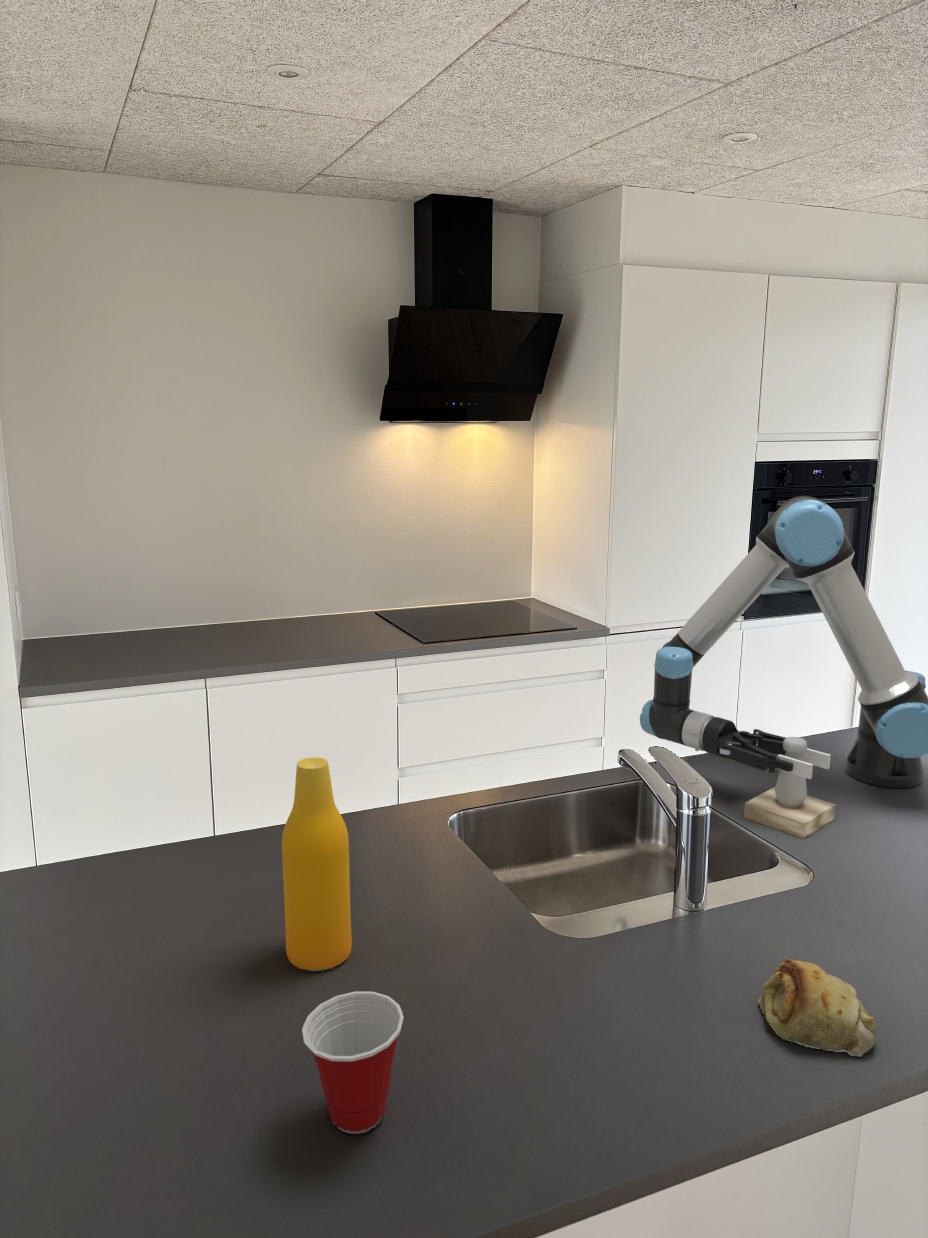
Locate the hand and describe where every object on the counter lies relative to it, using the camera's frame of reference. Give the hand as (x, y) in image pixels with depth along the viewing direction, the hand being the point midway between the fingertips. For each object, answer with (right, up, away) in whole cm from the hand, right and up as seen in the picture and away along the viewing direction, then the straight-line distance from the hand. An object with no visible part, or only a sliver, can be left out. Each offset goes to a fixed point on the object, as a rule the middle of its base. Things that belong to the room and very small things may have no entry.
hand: (820, 766), depth 165 cm
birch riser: (-3, -11, +6) cm, 13 cm away
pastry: (-21, -24, -52) cm, 61 cm away
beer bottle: (-86, -21, -37) cm, 96 cm away
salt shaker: (-4, -8, +6) cm, 11 cm away
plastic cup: (-77, -27, -67) cm, 106 cm away
